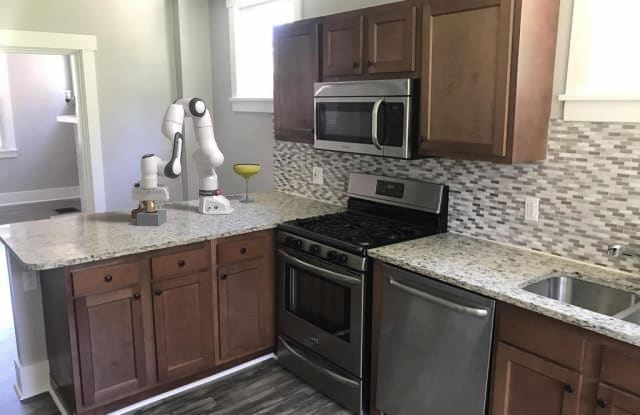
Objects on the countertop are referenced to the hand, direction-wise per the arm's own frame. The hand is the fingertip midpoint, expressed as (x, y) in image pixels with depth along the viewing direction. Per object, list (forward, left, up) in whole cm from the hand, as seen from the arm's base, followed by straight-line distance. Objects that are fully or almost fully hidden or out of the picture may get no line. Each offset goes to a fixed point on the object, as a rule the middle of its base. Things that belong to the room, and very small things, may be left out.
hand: (151, 208), depth 290 cm
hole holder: (0, 0, -9) cm, 9 cm away
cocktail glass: (-38, -71, -9) cm, 81 cm away
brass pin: (0, 0, -7) cm, 7 cm away
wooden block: (+13, -14, -9) cm, 21 cm away
